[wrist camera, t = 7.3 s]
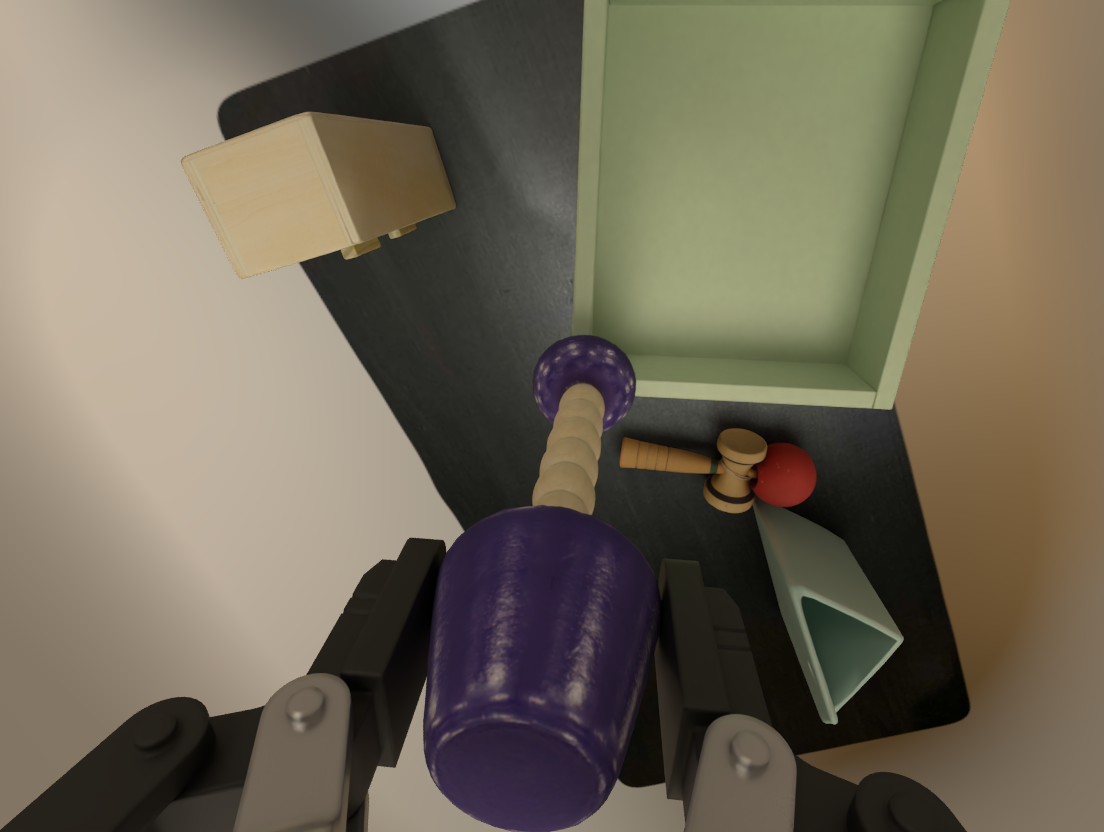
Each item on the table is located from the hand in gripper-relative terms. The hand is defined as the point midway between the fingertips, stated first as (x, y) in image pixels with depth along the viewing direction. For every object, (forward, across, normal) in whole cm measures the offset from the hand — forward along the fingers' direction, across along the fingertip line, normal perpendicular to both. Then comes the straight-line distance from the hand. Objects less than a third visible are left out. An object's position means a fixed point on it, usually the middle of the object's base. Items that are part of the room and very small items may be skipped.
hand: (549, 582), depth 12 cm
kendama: (+41, -13, +19) cm, 47 cm away
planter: (+41, -24, +29) cm, 56 cm away
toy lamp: (+13, 0, 0) cm, 13 cm away
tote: (+18, -6, -6) cm, 20 cm away
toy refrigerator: (+42, +17, -5) cm, 45 cm away
